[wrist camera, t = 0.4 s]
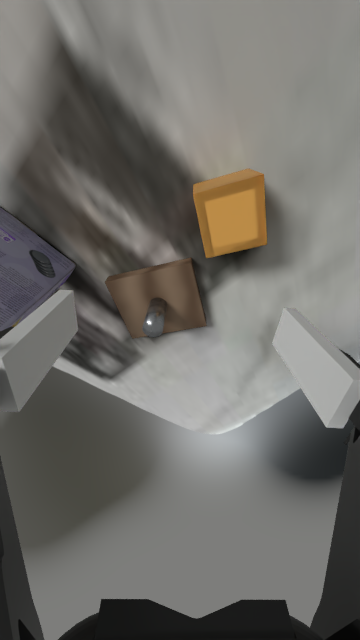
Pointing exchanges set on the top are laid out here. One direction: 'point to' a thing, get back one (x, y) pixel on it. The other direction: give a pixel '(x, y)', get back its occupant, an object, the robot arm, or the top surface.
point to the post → (155, 317)
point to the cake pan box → (26, 270)
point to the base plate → (163, 282)
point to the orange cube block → (231, 212)
